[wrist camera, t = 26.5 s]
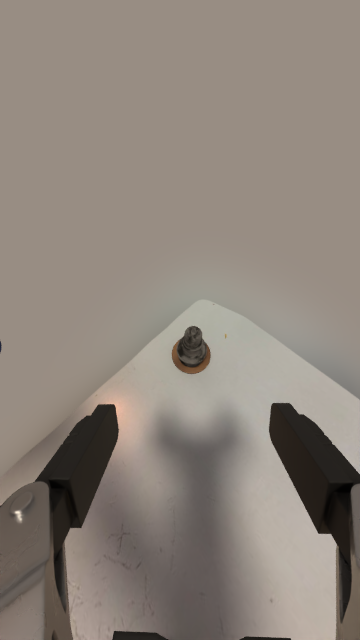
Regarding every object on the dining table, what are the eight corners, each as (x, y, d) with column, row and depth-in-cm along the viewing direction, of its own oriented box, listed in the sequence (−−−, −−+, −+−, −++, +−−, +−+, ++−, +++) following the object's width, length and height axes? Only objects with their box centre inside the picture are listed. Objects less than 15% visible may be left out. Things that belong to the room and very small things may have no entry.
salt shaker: (211, 353, 38) (221, 327, 27) (192, 375, 36) (196, 356, 25) (189, 336, 40) (191, 306, 29) (171, 355, 38) (166, 330, 27)
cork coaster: (164, 360, 38) (164, 360, 38) (184, 330, 41) (184, 330, 41) (198, 381, 36) (198, 381, 35) (216, 348, 39) (217, 347, 39)
